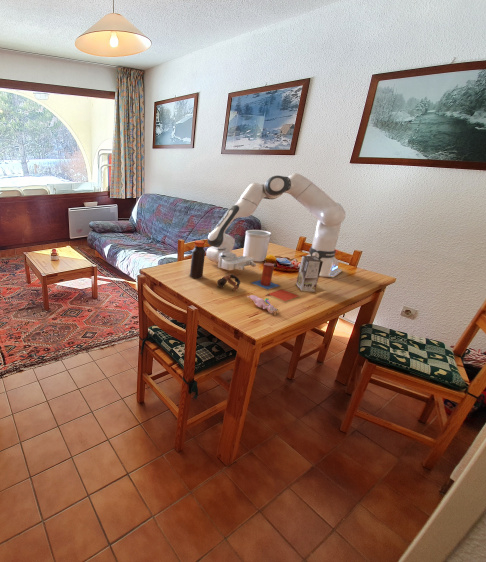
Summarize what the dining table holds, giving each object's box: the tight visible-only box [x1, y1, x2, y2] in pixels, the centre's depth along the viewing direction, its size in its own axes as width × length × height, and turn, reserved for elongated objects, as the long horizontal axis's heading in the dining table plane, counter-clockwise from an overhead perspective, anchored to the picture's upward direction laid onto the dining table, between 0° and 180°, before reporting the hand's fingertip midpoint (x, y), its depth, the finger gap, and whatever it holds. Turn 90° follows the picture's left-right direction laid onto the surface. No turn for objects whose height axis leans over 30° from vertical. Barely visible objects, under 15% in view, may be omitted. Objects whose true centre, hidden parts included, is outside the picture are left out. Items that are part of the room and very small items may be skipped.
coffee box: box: [295, 255, 323, 292], centre depth 154 cm, size 9×6×16 cm
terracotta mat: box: [268, 289, 299, 302], centre depth 149 cm, size 11×9×1 cm
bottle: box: [189, 240, 206, 279], centre depth 169 cm, size 7×7×20 cm
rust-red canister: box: [260, 262, 275, 286], centre depth 159 cm, size 5×5×11 cm
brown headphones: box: [217, 273, 241, 292], centre depth 156 cm, size 12×10×8 cm
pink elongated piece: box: [247, 294, 281, 316], centre depth 136 cm, size 6×6×15 cm
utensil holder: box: [242, 229, 272, 262], centre depth 198 cm, size 15×15×18 cm
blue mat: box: [251, 279, 281, 290], centre depth 161 cm, size 10×10×1 cm
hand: (249, 267), depth 168 cm, fingers open, 8 cm apart
